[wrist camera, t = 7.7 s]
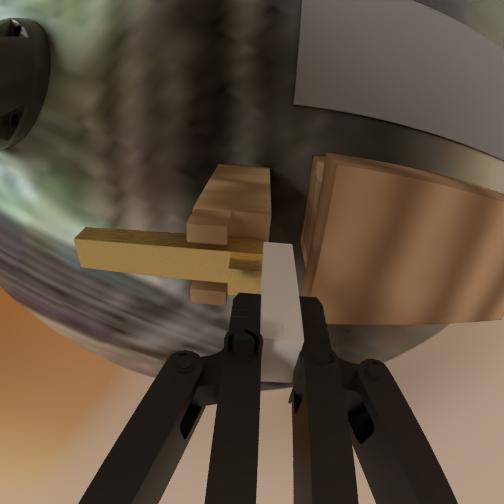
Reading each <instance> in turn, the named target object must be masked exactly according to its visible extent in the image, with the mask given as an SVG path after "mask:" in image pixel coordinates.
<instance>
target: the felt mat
mask: <svg viewBox="0 0 504 504" xmlns="http://www.w3.org/2000/svg"><path fill="white" fill-rule="evenodd" d="M294 104H296V105H304V106H311V107H318V108H325V109H331V110H337V111H343V112H348V113H353V114H359V115H363V116H368V117H373V118H377V119H382V120H386V121H390V122H394V123H398V124H402V125H405V126H409V127H413V128H416V129H420V130H423V131H426V132H430V133H433V134H436V135H439V136H442V137H445V138H448V139H451V140H454V141H457V142H460V143H462V144H465V145H468V146H470V147H473V148H476V149H478V150H481V151H483V152H486V153H488V154H490V155H493V156H495V157H497V158H500V159H502V160H504V48H502V47H501V46H499V45H498V44H496V43H495V42H493V41H492V40H490V39H488V38H487V37H485V36H483V35H482V34H480V33H478V32H477V31H475V30H473V29H472V28H470V27H468V26H466V25H464V24H463V23H461V22H459V21H457V20H455V19H453V18H451V17H449V16H447V15H445V14H443V13H441V12H439V11H436V10H434V9H432V8H430V7H427V6H425V5H423V4H420V3H418V2H415V1H413V0H302V7H301V21H300V34H299V47H298V59H297V71H296V82H295V93H294Z"/></svg>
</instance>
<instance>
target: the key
mask: <svg viewBox="0 0 504 504" xmlns="http://www.w3.org/2000/svg"><path fill="white" fill-rule="evenodd" d="M74 242H75V246H76V250H77V254H78V257H79V261H80V265H81V267H84V268H92V269H100V270H108V271H116V272H124V273H133V274H142V275H151V276H160V277H169V278H179V279H189V280H199V281H210V282H221V283H228V295H237V294H238V293H239V292H241V293H253V294H260V286H261V277H262V258H263V240H260V239H248V238H235V237H229V238H228V242H227V245H222V244H209V243H196V242H187V234H182V233H168V232H153V231H139V230H123V229H108V228H92V227H85V228H84V229H83V230H82V231H81V232H80V233H79V234H78V235H77V236H76V237H75V238H74Z"/></svg>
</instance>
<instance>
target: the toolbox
mask: <svg viewBox="0 0 504 504" xmlns="http://www.w3.org/2000/svg"><path fill="white" fill-rule="evenodd" d="M324 163H325V156H318V155H313V159H312V166H311V173H310V181H309V187H308V194H307V201H306V207H305V214H304V220H303V226H302V233H301V239H300V242H301V248H302V253H303V258H304V263H305V269H306V266H307V261H308V256H309V251H310V245H311V240H312V235H313V229H314V224H315V218H316V212H317V207H318V201H319V195H320V189H321V182H322V176H323V169H324ZM270 222H271V190H270V168H264V167H251V166H236V165H218V166H217V168H216V169H215V171H214V173H213V174H212V176H211V178H210V179H209V181H208V183H207V184H206V186H205V188H204V189H203V191H202V193H201V195H200V196H199V198H198V200H197V202H196V203H195V205H194V207H193V209H192V214H191V216H190V217H189V219H188V221H187V223H186V233H187V242H196V243H209V244H222V245H227V242H228V238H229V237H235V238H248V239H260V240H263V244H264V242H268V241H269V232H270ZM190 295H191V302H192V303H201V304H211V305H221V306H226V301H227V295H228V283H221V282H210V281H199V280H193V282H192V285H191V287H190Z"/></svg>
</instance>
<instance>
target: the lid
mask: <svg viewBox="0 0 504 504" xmlns="http://www.w3.org/2000/svg"><path fill="white" fill-rule="evenodd" d="M300 296H305V297H317V298H318V300H319V301H320V302H321V303H322V305H323V309H324V315H325V319H326V324H351V325H413V324H444V323H463V322H479V321H490V320H491V321H492V320H501V318H502V317H503V315H504V194H502V193H499V192H496V191H493V190H490V189H487V188H484V187H481V186H477V185H474V184H471V183H467V182H464V181H460V180H457V179H453V178H450V177H446V176H442V175H438V174H435V173H431V172H426V171H422V170H418V169H414V168H409V167H405V166H400V165H396V164H391V163H386V162H381V161H375V160H370V159H365V158H359V157H353V156H347V155H340V154H334V153H327V152H326V156H325V163H324V169H323V176H322V182H321V189H320V195H319V201H318V207H317V212H316V218H315V224H314V229H313V235H312V240H311V245H310V251H309V256H308V261H307V266H306V271H305V276H304V280H303V285H302V290H301V295H300Z"/></svg>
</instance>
